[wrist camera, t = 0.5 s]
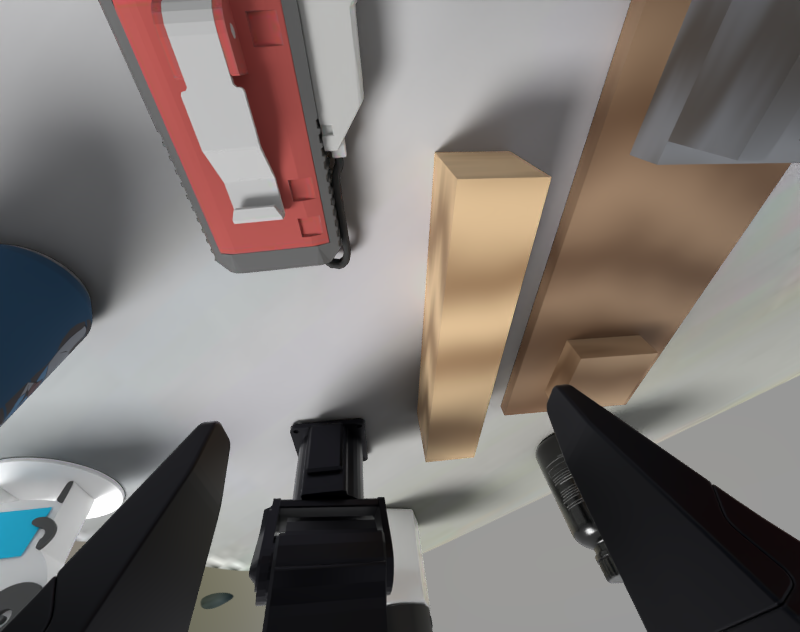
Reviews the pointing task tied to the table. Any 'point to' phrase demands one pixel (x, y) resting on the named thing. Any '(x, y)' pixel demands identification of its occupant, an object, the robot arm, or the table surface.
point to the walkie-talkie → (252, 117)
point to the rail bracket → (661, 190)
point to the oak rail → (472, 288)
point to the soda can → (36, 321)
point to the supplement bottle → (573, 505)
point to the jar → (407, 576)
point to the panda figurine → (44, 522)
